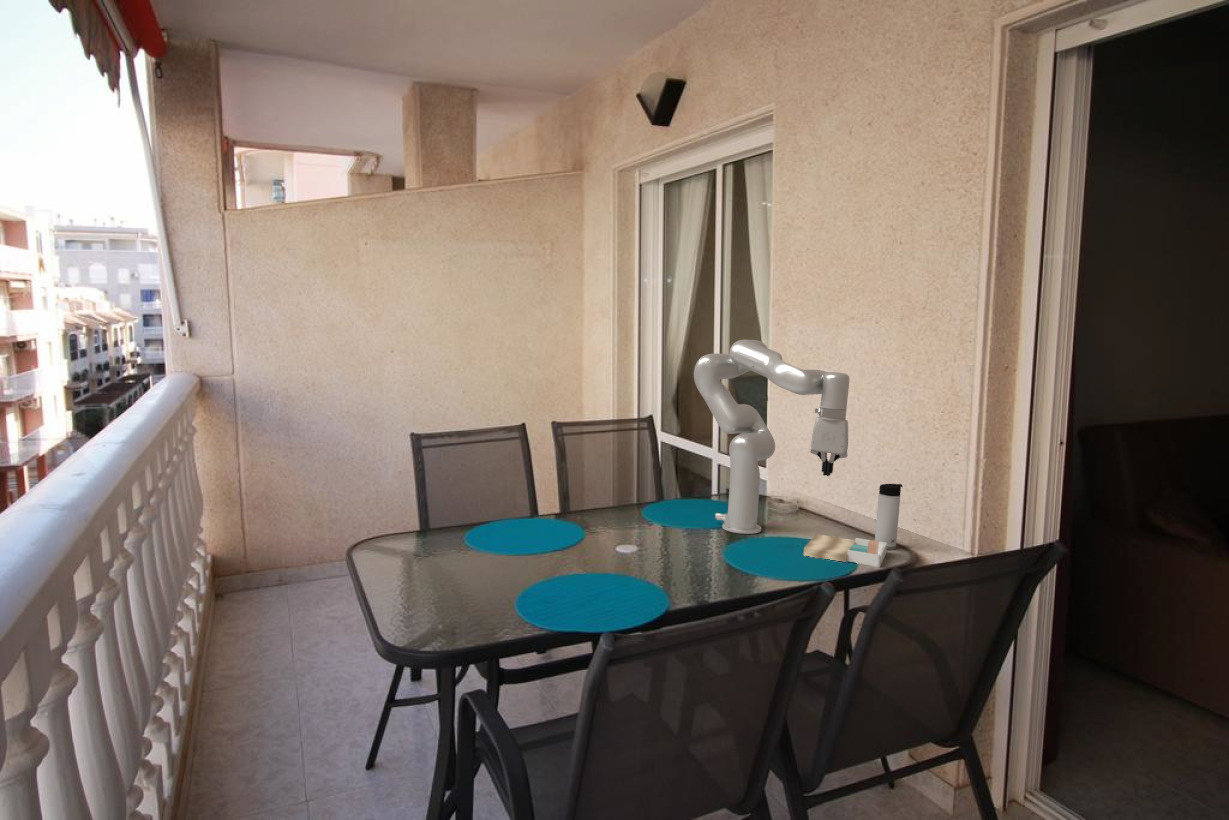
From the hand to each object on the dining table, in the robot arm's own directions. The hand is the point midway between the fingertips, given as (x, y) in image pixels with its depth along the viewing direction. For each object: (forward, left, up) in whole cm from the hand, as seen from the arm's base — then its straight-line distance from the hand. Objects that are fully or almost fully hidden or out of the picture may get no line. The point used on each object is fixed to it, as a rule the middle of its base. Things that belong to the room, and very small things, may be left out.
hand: (826, 475), depth 229 cm
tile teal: (+11, -2, -22) cm, 25 cm away
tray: (+14, -2, -23) cm, 26 cm away
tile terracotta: (+14, -2, -20) cm, 24 cm away
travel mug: (+17, +14, -23) cm, 32 cm away
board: (+3, -2, -23) cm, 23 cm away
